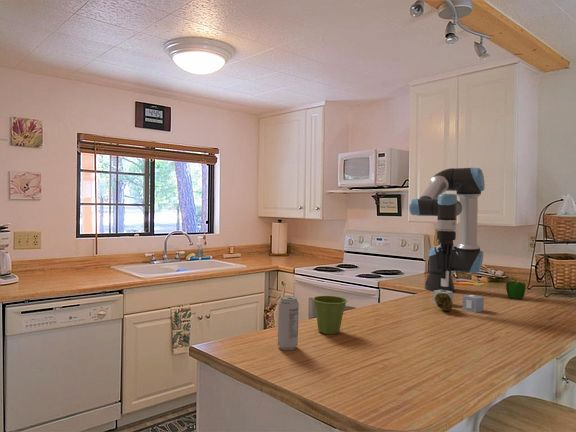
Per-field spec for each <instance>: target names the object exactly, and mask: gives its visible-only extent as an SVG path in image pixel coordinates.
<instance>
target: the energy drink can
mask: <svg viewBox="0 0 576 432" xmlns="http://www.w3.org/2000/svg"><path fill="white" fill-rule="evenodd" d="M299 306H300V304H299V301H298V298H297V297H295V296H290V295H286V296H281V297H280V300H279V302H278V310H277V311H278V313H277V315H278V316H277V346H278V347H279V349H280V350H282V351H283V350H284V351H293V350H296V349H297V346H298V345H299V343H298V341H299V339H298V337H299V308H300V307H299Z"/></svg>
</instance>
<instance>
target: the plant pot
mask: <svg viewBox="0 0 576 432" xmlns="http://www.w3.org/2000/svg"><path fill="white" fill-rule="evenodd" d="M312 301H313V302H314V303H313V304H314V307H315V313H316V322H317V330H318V332H319V333H322V334H325V335H329V336H330V335H335V334H339V333H340V331H341V326H342V319H343V314H344V310H345V308H346V304H347V302H349V301H348V299H347V298H345V297H341V296H336V295H317V296H314V297H312Z"/></svg>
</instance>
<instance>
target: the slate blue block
mask: <svg viewBox="0 0 576 432" xmlns="http://www.w3.org/2000/svg"><path fill="white" fill-rule="evenodd" d="M484 299H485V297H484V296H481V295H474V294H467V295H466V294H465V295H463V296H462V311H467V312H471V313H475V314H477V313H480V312H484V304H485V302H484V301H485V300H484Z"/></svg>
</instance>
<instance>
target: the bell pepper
mask: <svg viewBox="0 0 576 432" xmlns="http://www.w3.org/2000/svg"><path fill="white" fill-rule="evenodd" d="M510 279H511V280H513V281H507V282H506V284H505V288H506V293H507V297H508V298H510V299H514V300H520V299H521V300H522V299H524V296H525V293H526V289H527V285H526V283H524V282H520V281H517V279H516V278H515V277H511V278H510Z"/></svg>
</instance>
